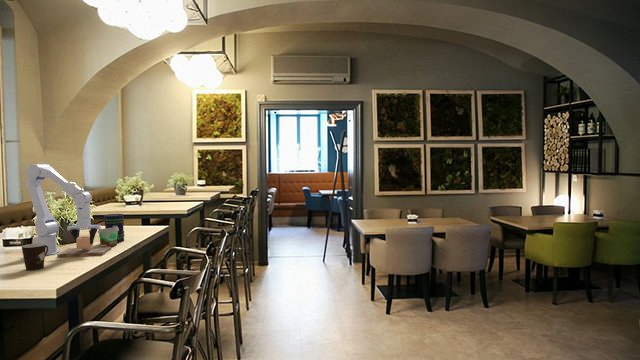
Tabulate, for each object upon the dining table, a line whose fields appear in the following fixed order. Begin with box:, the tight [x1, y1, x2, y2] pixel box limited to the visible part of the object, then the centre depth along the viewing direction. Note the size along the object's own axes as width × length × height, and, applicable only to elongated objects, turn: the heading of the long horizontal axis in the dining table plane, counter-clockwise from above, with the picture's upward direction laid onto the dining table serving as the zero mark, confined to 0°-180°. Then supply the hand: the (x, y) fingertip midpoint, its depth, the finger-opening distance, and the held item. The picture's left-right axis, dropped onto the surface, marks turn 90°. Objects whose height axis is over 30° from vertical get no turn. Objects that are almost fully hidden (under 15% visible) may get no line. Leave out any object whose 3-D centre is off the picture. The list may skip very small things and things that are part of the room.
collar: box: [75, 235, 94, 249], centre depth 218 cm, size 6×6×5 cm
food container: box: [97, 226, 119, 248], centre depth 235 cm, size 12×6×10 cm, turn 168°
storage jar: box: [104, 213, 125, 244], centre depth 249 cm, size 10×10×15 cm
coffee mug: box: [21, 243, 48, 272], centre depth 190 cm, size 12×9×10 cm
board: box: [56, 246, 112, 258], centre depth 218 cm, size 20×14×2 cm
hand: (84, 244), depth 218 cm, fingers closed on collar, 6 cm apart
